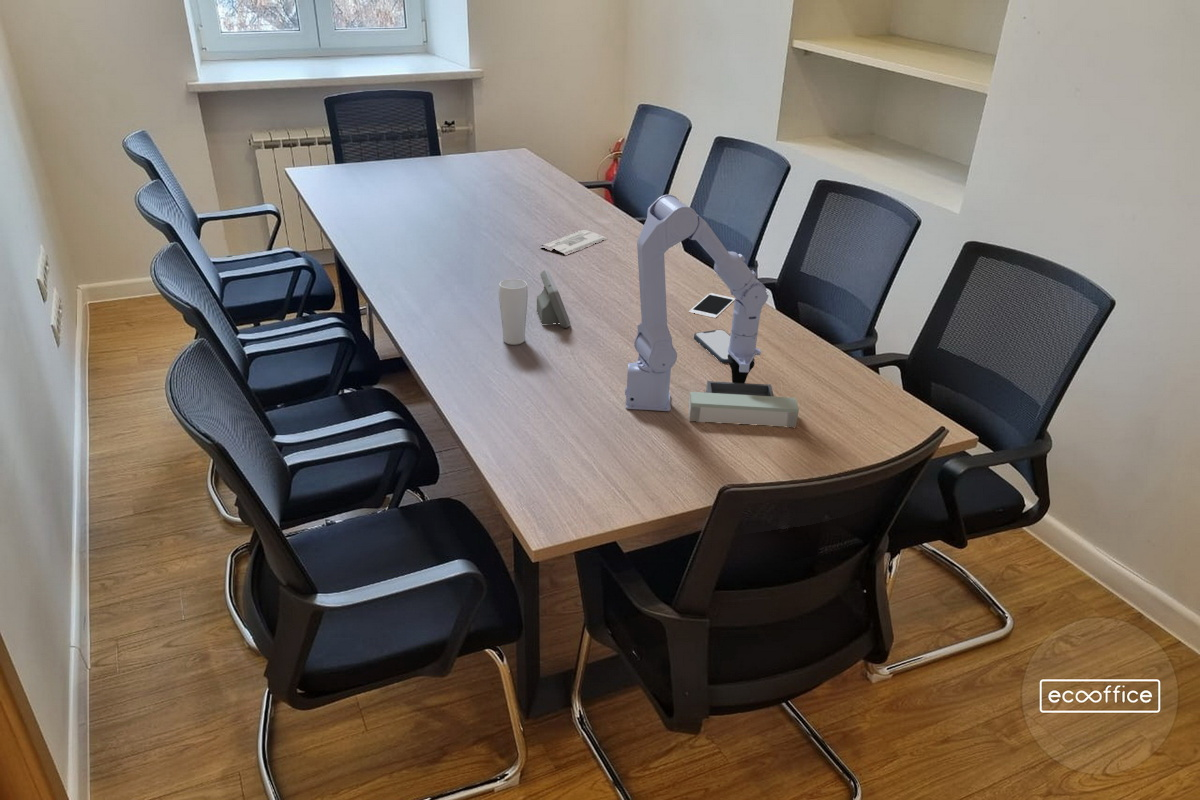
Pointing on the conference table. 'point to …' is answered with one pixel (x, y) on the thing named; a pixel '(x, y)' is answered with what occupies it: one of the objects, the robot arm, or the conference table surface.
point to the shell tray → (739, 388)
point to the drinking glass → (513, 310)
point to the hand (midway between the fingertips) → (737, 387)
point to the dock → (743, 409)
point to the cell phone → (712, 305)
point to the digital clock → (551, 303)
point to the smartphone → (715, 343)
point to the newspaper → (575, 241)
